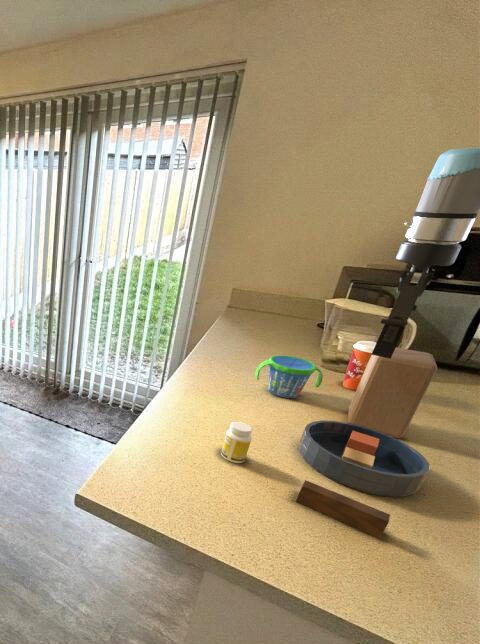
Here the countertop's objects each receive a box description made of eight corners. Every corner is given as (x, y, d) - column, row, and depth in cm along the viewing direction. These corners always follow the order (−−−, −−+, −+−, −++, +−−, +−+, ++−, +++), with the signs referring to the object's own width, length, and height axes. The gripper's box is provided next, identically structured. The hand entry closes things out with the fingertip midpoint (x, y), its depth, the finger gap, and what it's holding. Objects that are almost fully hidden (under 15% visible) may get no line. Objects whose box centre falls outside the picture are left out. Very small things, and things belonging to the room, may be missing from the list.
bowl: (419, 467, 86) (431, 447, 84) (414, 514, 74) (427, 491, 72) (307, 429, 99) (314, 411, 97) (288, 464, 88) (295, 444, 85)
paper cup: (339, 388, 118) (357, 346, 113) (336, 379, 124) (352, 338, 119) (375, 396, 114) (395, 352, 109) (369, 385, 120) (388, 343, 114)
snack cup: (253, 395, 116) (262, 364, 112) (248, 380, 124) (257, 351, 120) (320, 407, 109) (333, 374, 105) (310, 390, 118) (321, 360, 114)
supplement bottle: (248, 458, 90) (258, 427, 86) (239, 466, 87) (249, 435, 84) (225, 447, 93) (234, 418, 90) (216, 455, 91) (225, 425, 87)
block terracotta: (371, 455, 89) (379, 438, 87) (369, 464, 86) (377, 447, 84) (345, 446, 92) (352, 430, 90) (342, 454, 89) (349, 438, 88)
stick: (381, 531, 71) (390, 514, 69) (379, 538, 69) (389, 522, 68) (298, 495, 79) (305, 479, 77) (295, 501, 77) (302, 485, 76)
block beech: (366, 473, 84) (375, 456, 82) (363, 483, 81) (372, 466, 79) (339, 463, 87) (346, 446, 85) (335, 472, 84) (343, 455, 82)
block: (402, 440, 95) (440, 366, 87) (346, 425, 101) (377, 354, 93) (399, 423, 101) (434, 352, 93) (347, 409, 108) (376, 342, 100)
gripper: (408, 233, 82) (368, 328, 91) (397, 246, 67) (350, 358, 76) (462, 236, 77) (415, 336, 86) (464, 251, 62) (406, 370, 71)
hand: (384, 347), depth 81 cm, fingers open, 13 cm apart
